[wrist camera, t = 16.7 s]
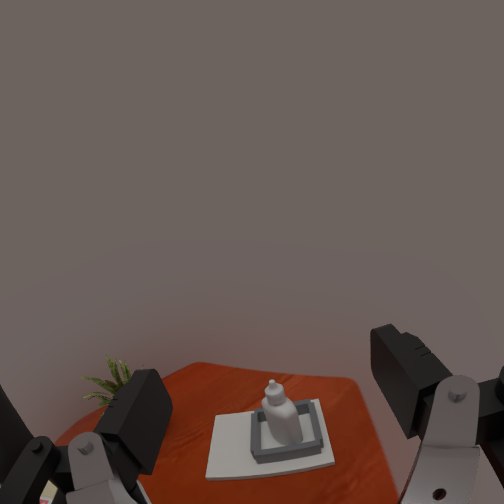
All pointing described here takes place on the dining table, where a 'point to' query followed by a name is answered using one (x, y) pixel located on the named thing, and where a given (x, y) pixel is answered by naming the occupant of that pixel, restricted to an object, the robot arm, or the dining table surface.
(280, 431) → the eye dropper bottle
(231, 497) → the dining table surface
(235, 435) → the bottle holder
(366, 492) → the dining table surface
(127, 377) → the house plant
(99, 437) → the robot arm
